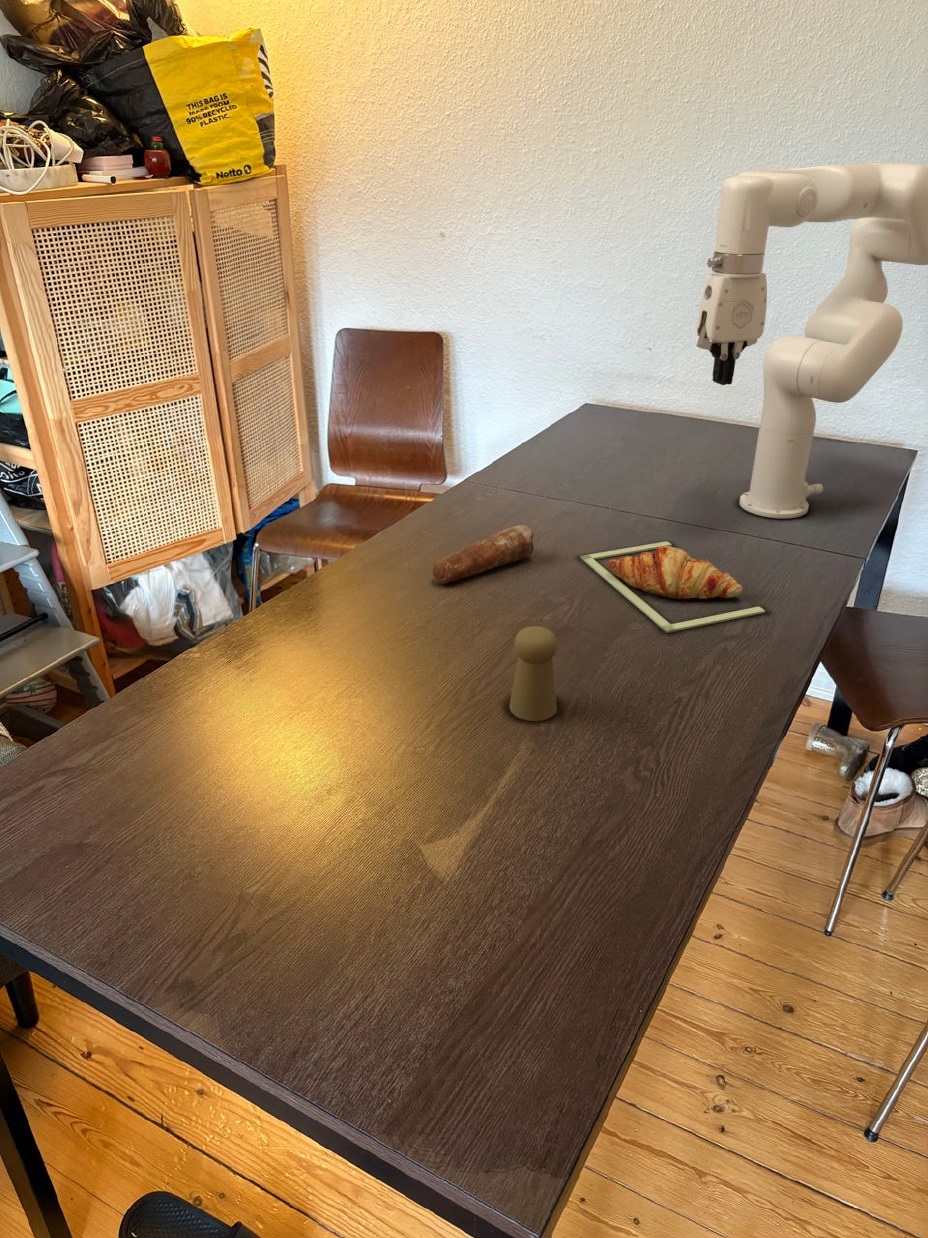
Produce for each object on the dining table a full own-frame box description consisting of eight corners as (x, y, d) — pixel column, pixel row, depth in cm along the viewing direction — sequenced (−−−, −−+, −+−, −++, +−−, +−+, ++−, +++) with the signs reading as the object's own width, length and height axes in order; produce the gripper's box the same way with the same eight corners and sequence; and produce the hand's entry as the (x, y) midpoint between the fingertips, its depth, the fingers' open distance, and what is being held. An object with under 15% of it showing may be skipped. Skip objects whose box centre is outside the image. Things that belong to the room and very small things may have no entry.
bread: (536, 560, 153) (538, 530, 150) (444, 591, 143) (444, 559, 141) (513, 548, 158) (514, 518, 155) (422, 577, 148) (421, 546, 145)
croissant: (739, 611, 144) (749, 561, 144) (737, 610, 135) (748, 557, 134) (608, 586, 151) (618, 539, 150) (597, 583, 141) (608, 533, 141)
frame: (666, 543, 159) (667, 541, 159) (764, 612, 137) (765, 610, 137) (580, 558, 154) (580, 555, 154) (667, 633, 131) (667, 630, 131)
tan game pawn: (506, 695, 117) (508, 621, 112) (552, 692, 118) (556, 618, 113) (512, 722, 112) (514, 645, 107) (560, 719, 113) (565, 643, 107)
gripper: (710, 270, 135) (695, 392, 144) (793, 264, 140) (773, 384, 149) (682, 263, 142) (670, 381, 150) (762, 258, 146) (746, 373, 155)
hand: (721, 382), depth 150 cm, fingers closed
